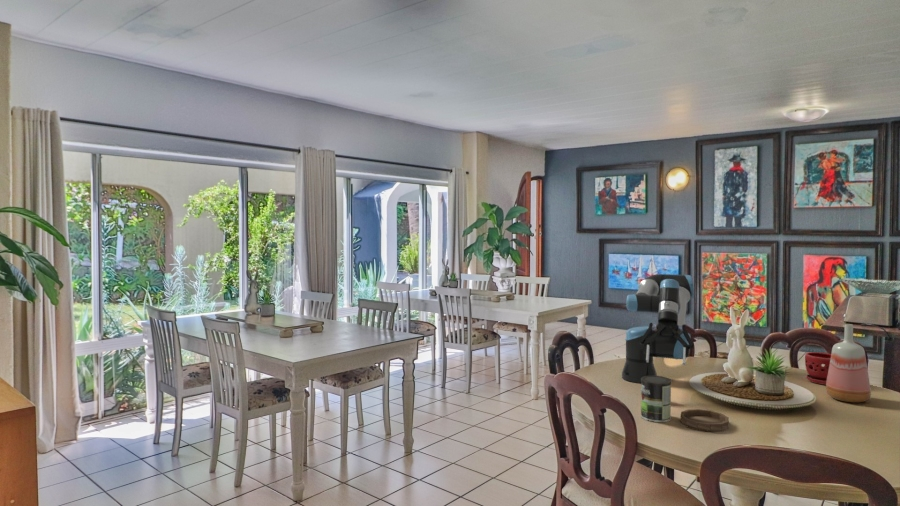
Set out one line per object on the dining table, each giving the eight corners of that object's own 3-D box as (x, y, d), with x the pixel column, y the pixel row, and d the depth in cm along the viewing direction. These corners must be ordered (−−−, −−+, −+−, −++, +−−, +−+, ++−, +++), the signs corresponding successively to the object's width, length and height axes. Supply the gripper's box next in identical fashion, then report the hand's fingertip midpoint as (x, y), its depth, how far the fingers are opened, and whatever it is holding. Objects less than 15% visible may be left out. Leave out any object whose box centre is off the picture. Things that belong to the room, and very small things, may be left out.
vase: (829, 402, 216) (830, 326, 215) (822, 392, 229) (824, 320, 228) (874, 407, 210) (876, 329, 208) (865, 396, 223) (867, 322, 222)
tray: (682, 414, 206) (682, 407, 206) (728, 419, 199) (728, 412, 199) (679, 427, 192) (679, 420, 192) (728, 434, 186) (728, 426, 185)
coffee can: (648, 423, 197) (648, 383, 196) (636, 413, 207) (636, 375, 207) (676, 421, 198) (676, 382, 197) (662, 412, 208) (663, 374, 207)
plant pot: (842, 388, 234) (843, 359, 234) (805, 383, 241) (806, 356, 240) (839, 380, 246) (839, 353, 245) (803, 376, 252) (804, 350, 252)
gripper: (635, 308, 233) (631, 356, 223) (701, 311, 222) (699, 361, 212) (637, 316, 239) (633, 363, 229) (701, 320, 228) (700, 369, 218)
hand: (665, 362), depth 220 cm, fingers open, 13 cm apart
